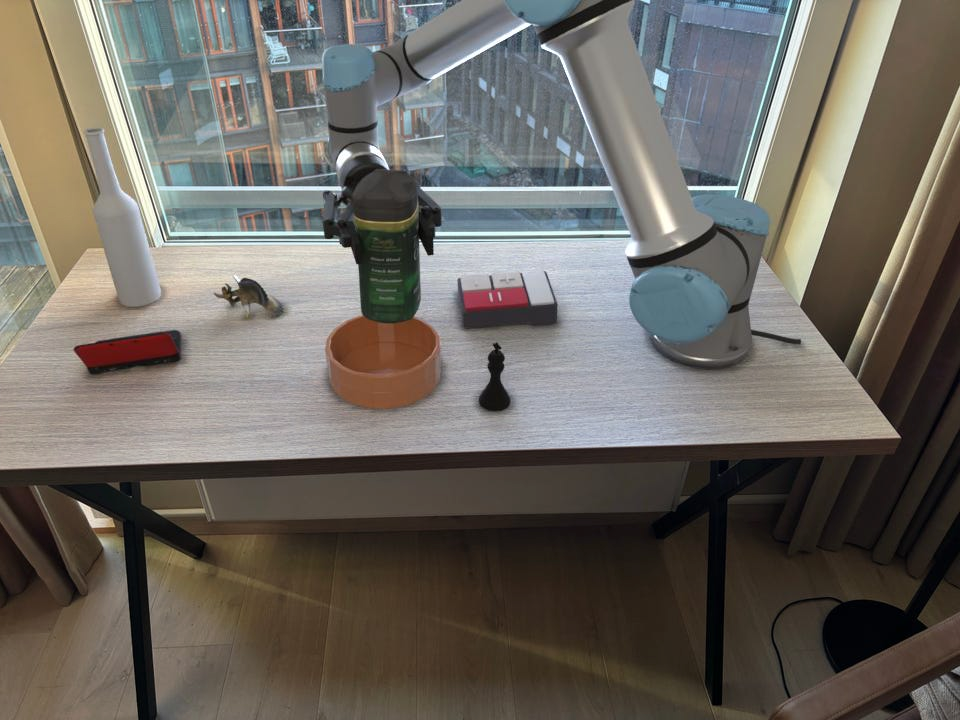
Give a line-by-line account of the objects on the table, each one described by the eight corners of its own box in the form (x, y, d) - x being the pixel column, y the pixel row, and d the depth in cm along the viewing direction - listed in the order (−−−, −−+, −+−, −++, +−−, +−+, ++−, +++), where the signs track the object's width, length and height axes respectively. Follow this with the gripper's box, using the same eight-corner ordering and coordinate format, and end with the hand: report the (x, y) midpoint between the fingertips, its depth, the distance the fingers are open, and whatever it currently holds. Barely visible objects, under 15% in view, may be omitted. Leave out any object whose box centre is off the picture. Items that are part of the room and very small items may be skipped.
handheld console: (182, 334, 119) (171, 293, 114) (181, 375, 110) (169, 333, 106) (94, 346, 116) (79, 304, 111) (86, 390, 107) (70, 346, 103)
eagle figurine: (215, 319, 120) (268, 315, 118) (211, 273, 120) (264, 268, 118) (239, 319, 127) (290, 315, 126) (235, 276, 127) (286, 271, 125)
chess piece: (494, 387, 109) (497, 329, 104) (516, 402, 107) (520, 343, 101) (472, 400, 107) (473, 341, 101) (494, 416, 104) (496, 356, 98)
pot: (453, 351, 116) (453, 320, 113) (421, 417, 104) (420, 385, 101) (354, 334, 119) (351, 304, 116) (311, 397, 107) (306, 366, 104)
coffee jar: (416, 328, 101) (410, 196, 90) (356, 325, 101) (344, 193, 90) (426, 290, 109) (421, 164, 98) (370, 287, 109) (360, 162, 98)
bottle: (168, 287, 129) (126, 123, 113) (149, 308, 124) (102, 139, 108) (131, 284, 130) (84, 120, 114) (111, 304, 125) (58, 136, 108)
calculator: (456, 273, 128) (546, 266, 129) (458, 295, 130) (545, 288, 131) (462, 309, 119) (558, 301, 120) (463, 332, 122) (557, 323, 123)
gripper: (436, 195, 117) (476, 266, 100) (295, 209, 112) (311, 287, 95) (435, 147, 113) (477, 212, 95) (288, 160, 108) (304, 232, 90)
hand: (394, 249), depth 95 cm, fingers closed on coffee jar, 8 cm apart
